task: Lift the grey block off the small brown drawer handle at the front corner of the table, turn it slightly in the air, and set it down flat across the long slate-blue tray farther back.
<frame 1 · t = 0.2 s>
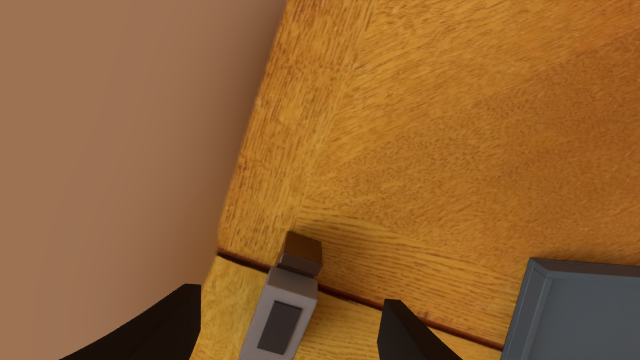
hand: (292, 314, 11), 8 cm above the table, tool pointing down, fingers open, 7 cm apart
brown drawer handle: (282, 293, 21), on the table
grey block: (279, 312, 19), point 2 cm above the table, touching brown drawer handle
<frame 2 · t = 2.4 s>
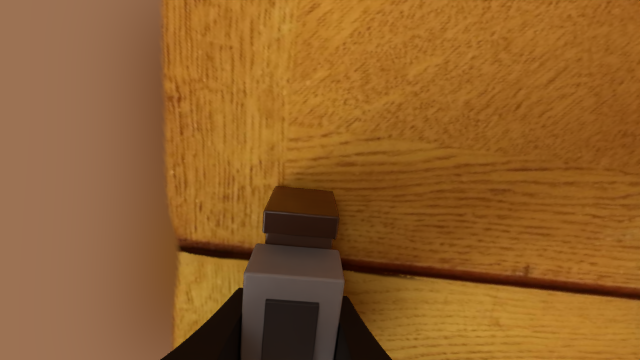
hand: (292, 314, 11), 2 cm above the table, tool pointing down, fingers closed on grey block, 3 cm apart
brown drawer handle: (294, 286, 13), on the table
grey block: (291, 317, 11), point 2 cm above the table, touching gripper, brown drawer handle
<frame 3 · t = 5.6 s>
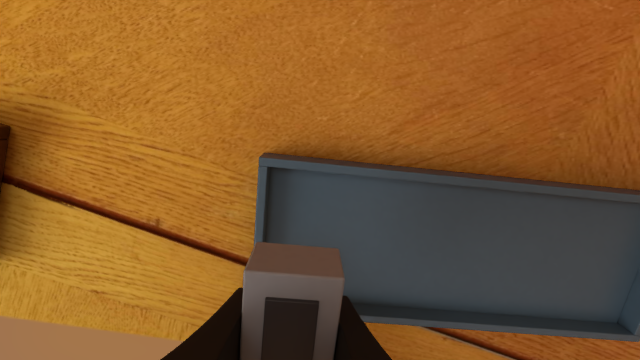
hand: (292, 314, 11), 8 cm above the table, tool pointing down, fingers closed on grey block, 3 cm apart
tray: (455, 246, 20), on the table
grey block: (291, 316, 11), point 8 cm above the table, touching gripper
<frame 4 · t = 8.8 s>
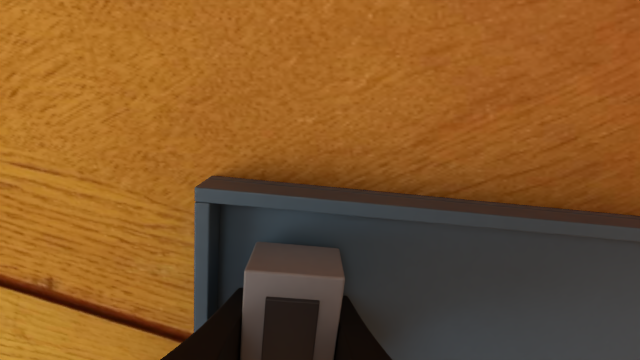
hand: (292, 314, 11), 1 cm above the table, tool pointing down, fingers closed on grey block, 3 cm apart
tray: (511, 315, 13), on the table
grey block: (291, 315, 11), point 1 cm above the table, touching gripper
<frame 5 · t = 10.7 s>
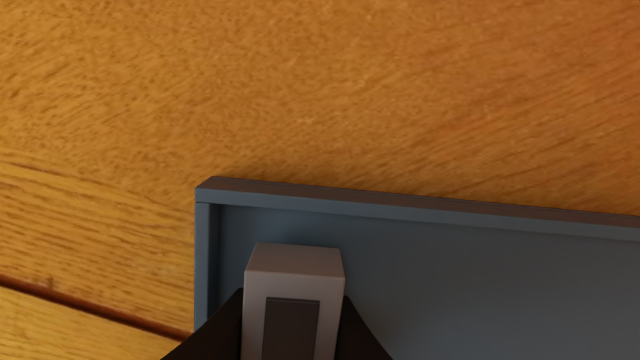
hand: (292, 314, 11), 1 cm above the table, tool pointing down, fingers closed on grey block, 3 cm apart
tray: (510, 314, 13), on the table
grey block: (291, 315, 11), point 1 cm above the table, touching gripper
when the fingers open (2 cm above the table, at t = 12.6 s): grey block drops 2 cm, resting on tray.
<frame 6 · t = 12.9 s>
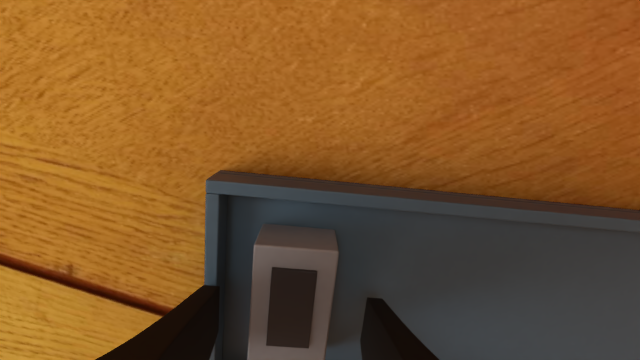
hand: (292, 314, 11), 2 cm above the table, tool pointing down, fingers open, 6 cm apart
tray: (496, 300, 14), on the table
grey block: (293, 289, 13), resting on tray
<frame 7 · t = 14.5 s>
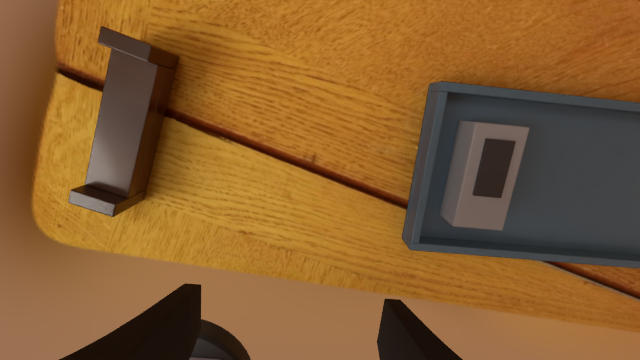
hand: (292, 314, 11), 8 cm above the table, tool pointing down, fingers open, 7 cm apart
brown drawer handle: (141, 125, 18), on the table
tray: (609, 184, 19), on the table
grey block: (471, 171, 18), resting on tray
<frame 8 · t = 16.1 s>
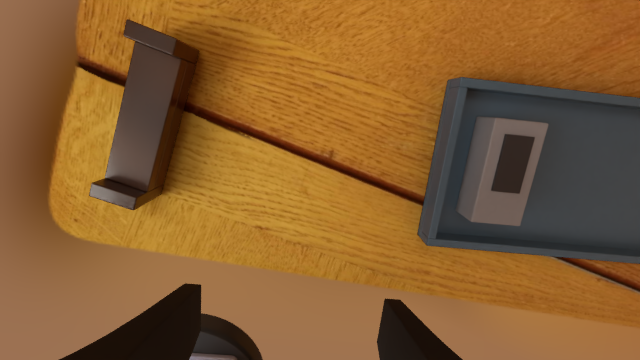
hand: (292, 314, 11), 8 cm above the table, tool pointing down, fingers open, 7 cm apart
brown drawer handle: (159, 119, 18), on the table
tray: (623, 181, 19), on the table
grey block: (488, 167, 18), resting on tray
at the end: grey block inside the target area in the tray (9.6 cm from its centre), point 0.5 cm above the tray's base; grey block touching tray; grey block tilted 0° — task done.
